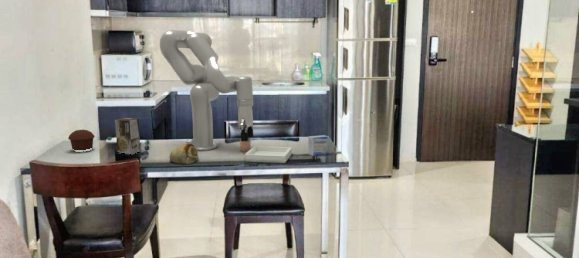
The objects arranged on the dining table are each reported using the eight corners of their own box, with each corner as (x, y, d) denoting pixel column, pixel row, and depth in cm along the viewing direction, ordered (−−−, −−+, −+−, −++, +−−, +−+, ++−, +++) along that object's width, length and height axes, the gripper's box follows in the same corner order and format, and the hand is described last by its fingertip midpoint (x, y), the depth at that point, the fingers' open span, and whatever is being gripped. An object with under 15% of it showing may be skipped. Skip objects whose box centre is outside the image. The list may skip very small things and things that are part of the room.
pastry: (199, 164, 216) (198, 145, 215) (169, 165, 214) (168, 147, 212) (197, 156, 230) (197, 139, 228) (169, 158, 227) (168, 140, 226)
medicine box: (313, 156, 230) (313, 137, 228) (308, 154, 234) (308, 136, 232) (327, 154, 233) (328, 136, 232) (322, 152, 237) (323, 134, 236)
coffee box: (141, 152, 239) (139, 118, 236) (131, 155, 233) (129, 120, 230) (126, 150, 242) (124, 117, 239) (116, 153, 237) (114, 119, 234)
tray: (244, 161, 220) (244, 154, 220) (254, 152, 238) (254, 146, 237) (284, 163, 217) (284, 156, 217) (292, 153, 235) (292, 147, 234)
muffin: (94, 147, 249) (93, 127, 247) (96, 151, 239) (95, 131, 238) (68, 149, 244) (66, 129, 242) (69, 154, 234) (67, 133, 233)
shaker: (238, 152, 239) (238, 139, 238) (241, 149, 244) (241, 137, 243) (249, 152, 238) (248, 139, 237) (251, 150, 243) (251, 137, 242)
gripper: (242, 101, 246) (244, 135, 248) (232, 105, 229) (234, 142, 232) (257, 100, 244) (259, 135, 247) (248, 105, 227) (250, 142, 230)
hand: (247, 138), depth 239 cm, fingers open, 9 cm apart
